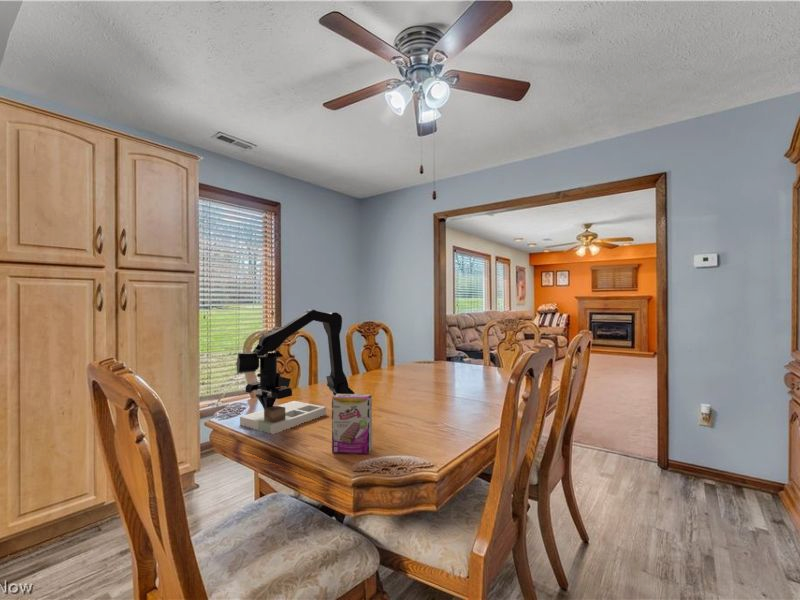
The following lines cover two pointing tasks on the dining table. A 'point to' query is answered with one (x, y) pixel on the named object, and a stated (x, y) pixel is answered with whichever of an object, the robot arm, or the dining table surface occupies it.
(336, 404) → the candy bar box
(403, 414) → the dining table surface
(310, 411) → the board
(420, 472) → the dining table surface
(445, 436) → the dining table surface
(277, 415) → the walnut block
